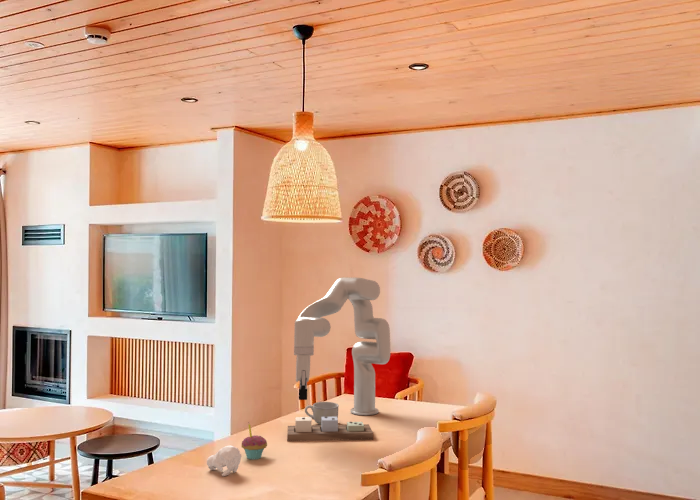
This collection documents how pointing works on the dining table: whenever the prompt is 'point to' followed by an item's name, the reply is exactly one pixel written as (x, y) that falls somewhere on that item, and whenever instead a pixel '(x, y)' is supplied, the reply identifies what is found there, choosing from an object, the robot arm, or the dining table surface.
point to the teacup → (322, 410)
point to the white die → (329, 424)
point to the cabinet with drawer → (329, 434)
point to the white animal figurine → (225, 460)
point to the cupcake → (254, 445)
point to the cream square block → (303, 424)
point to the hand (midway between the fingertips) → (302, 399)
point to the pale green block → (355, 426)
